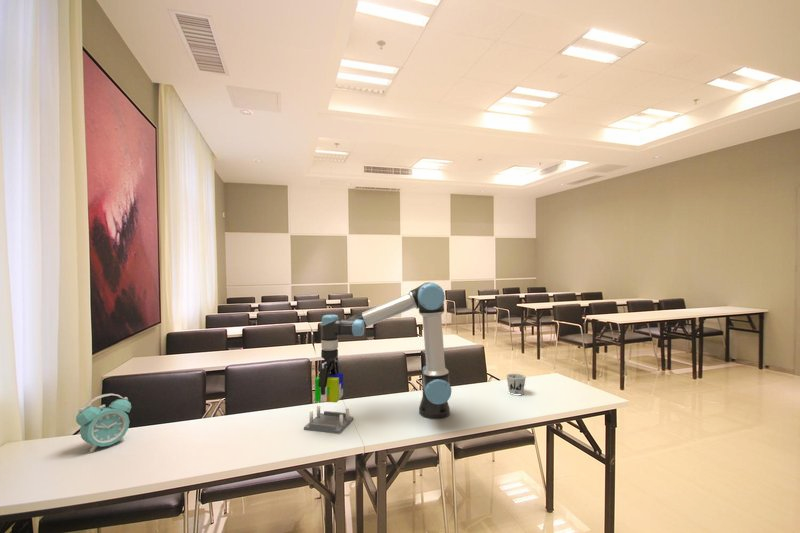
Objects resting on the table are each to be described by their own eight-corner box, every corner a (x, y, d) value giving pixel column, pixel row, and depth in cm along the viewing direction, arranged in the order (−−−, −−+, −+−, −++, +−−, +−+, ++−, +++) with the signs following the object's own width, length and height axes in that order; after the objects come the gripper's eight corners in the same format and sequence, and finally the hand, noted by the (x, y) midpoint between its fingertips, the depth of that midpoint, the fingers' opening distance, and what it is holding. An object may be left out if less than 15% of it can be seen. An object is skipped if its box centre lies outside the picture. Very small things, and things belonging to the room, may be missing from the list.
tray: (353, 419, 170) (353, 406, 170) (339, 433, 155) (339, 419, 155) (320, 415, 174) (320, 402, 174) (303, 429, 159) (303, 415, 159)
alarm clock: (82, 457, 135) (82, 403, 136) (72, 450, 140) (73, 399, 141) (135, 439, 150) (135, 391, 150) (125, 433, 155) (125, 387, 155)
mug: (507, 396, 202) (507, 378, 202) (504, 387, 217) (504, 371, 217) (527, 397, 200) (527, 379, 200) (522, 388, 215) (522, 371, 215)
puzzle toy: (342, 394, 169) (343, 373, 169) (336, 402, 159) (336, 379, 159) (322, 394, 170) (322, 372, 170) (314, 401, 160) (315, 379, 161)
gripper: (332, 343, 177) (332, 388, 177) (310, 353, 155) (309, 405, 154) (347, 344, 175) (346, 389, 175) (326, 354, 153) (325, 407, 153)
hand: (329, 397), depth 165 cm, fingers closed on puzzle toy, 10 cm apart
